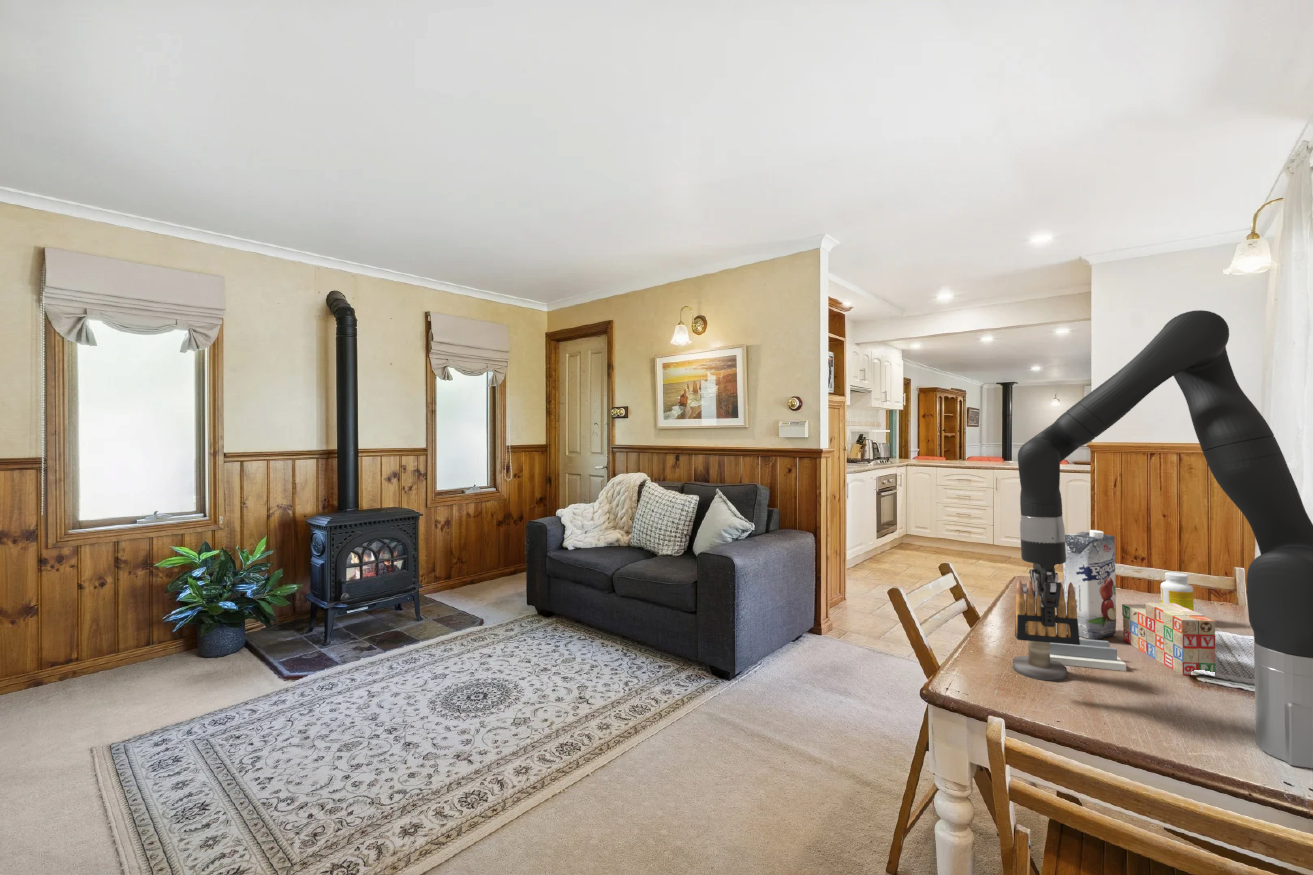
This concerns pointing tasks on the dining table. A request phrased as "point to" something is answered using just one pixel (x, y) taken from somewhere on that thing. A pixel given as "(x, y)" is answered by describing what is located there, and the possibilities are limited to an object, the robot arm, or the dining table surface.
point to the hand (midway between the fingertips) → (1046, 623)
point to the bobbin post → (1039, 660)
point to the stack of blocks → (1171, 635)
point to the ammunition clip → (1030, 622)
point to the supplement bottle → (1177, 590)
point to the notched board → (1087, 655)
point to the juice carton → (1092, 582)
